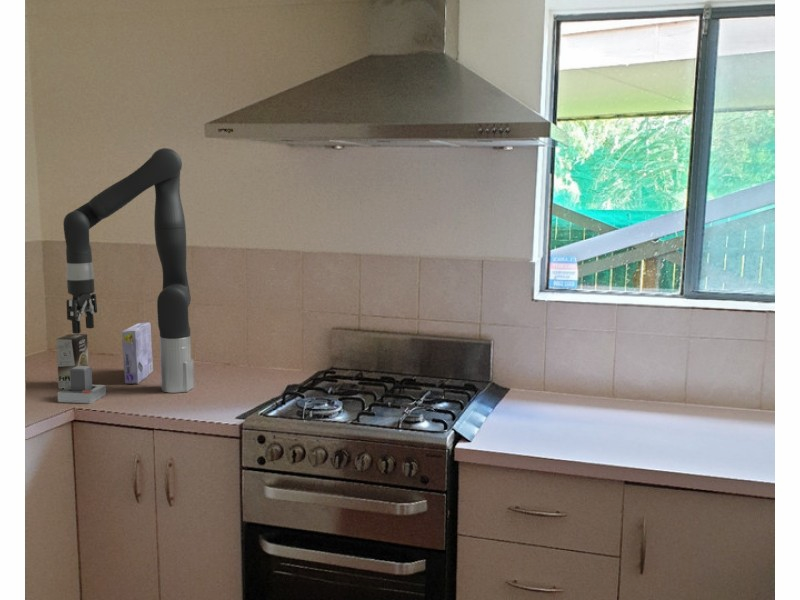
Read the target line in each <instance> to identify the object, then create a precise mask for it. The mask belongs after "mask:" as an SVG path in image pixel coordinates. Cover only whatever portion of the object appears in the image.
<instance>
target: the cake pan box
mask: <svg viewBox="0 0 800 600" xmlns="http://www.w3.org/2000/svg"><path fill="white" fill-rule="evenodd" d="M151 328H152V327H151V322H138V323H135V324H134V325H132V326H130V327H128V328H126V329H124V330H122V331H121V339H122V340H121V342H122V343H121V344H122V345H121V346H122V354H123V355H122V358H123V370H124V371H123V373H124V384H133V385H134V384H136V385H139V384H140V383H141V382H142V381H144V380H145V379H147V377H148V376H149V375H150V374H152V373H153V372H154V364H153V363H154V362H153V348H152V345H153V344H152V332H151V331H152V329H151Z"/></svg>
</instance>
